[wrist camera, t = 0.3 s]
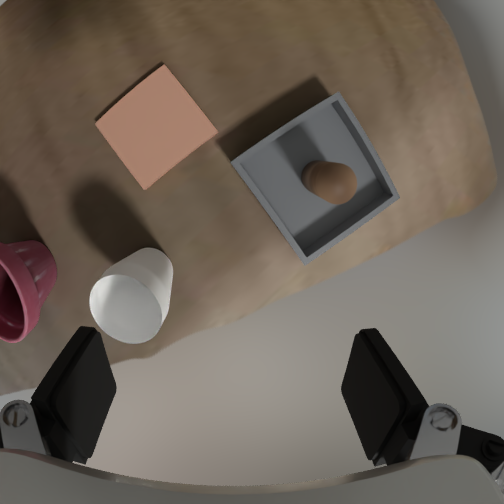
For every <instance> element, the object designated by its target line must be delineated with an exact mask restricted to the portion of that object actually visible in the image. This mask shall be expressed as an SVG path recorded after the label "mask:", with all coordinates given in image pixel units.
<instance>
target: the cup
mask: <svg viewBox="0 0 504 504" xmlns="http://www.w3.org/2000/svg"><path fill="white" fill-rule="evenodd" d="M172 277H173V267H172V264H171V261H170V260H169V258H168V257H167V256H166V255H165V254H164V253H163V252H161V251H160V250H158V249H155V248H143V249H140V250H138V251H136V252H135V253H133V254H131V255H129V256H128V257H126V258H124V259H122V260H121V261H119V262H117V263H116V264H114V265H112V266H111V267H109V268H108V269H107V270H106V271H105V272H104V273H103V274H102V276H101V277H100V279H99V280H98V281H97V283H96V284H95V285H94V287H93V288H92V291H91V294H90V309H91V313H92V315H93V317H94V319H95V321H96V323H97V324H98V325H99V327H100V328H101V329H102V330H103V331H104V332H105V333H107V334H108V335H109V336H111V337H113V338H114V339H116V340H119V341H121V342H125V343H131V344H138V343H143V342H146V341H148V340H150V339H152V338H153V337H154V336H155V335H156V334H157V333H158V331H159V329H160V327H161V325H162V323H163V321H164V319H165V318H166V316H167V313H168V309H169V303H170V294H171V286H172Z"/></svg>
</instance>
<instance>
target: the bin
mask: <svg viewBox="0 0 504 504" xmlns="http://www.w3.org/2000/svg"><path fill="white" fill-rule="evenodd" d="M315 160H320V161H328V162H335V163H342V164H345V165H347V166H349V167H350V168H351V169H352V170H353V172H354V173H355V175H356V178H357V189H356V192H355V194H354V196H353V197H352V198H351V199H350V200H349V201H348V202H346V203H343V204H332V203H329V202H327V201H326V200H324V199H322V198H320V197H319V196H317V195H315V194H313V193H311V192H310V191H308V190H307V189H306V188H305V187H304V185H303V183H302V180H301V174H302V171H303V169H304V167H305V166H306V165H307V164H308V163H309V162H311V161H315ZM230 163H231V164H232V165H233V167H234V168H235V169H236V171H237V172H238V173H239V175H240V176H241V177H242V179H243V180H244V181H245V183H246V184H247V185H248V187H249V188H250V190H251V191H252V192H253V194H254V195H255V196H256V198H257V199H258V201H259V202H260V203H261V205H262V206H263V207H264V209H265V210H266V212H267V213H268V214H269V216H270V217H271V219H272V220H273V221H274V223H275V224H276V225H277V227H278V228H279V230H280V231H281V233H282V234H283V235H284V237H285V238H286V240H287V241H288V242H289V244H290V245H291V247H292V248H293V250H294V251H295V252H296V254H297V255H298V257H299V258H300V260H301V261H302V262H303V264H304V265H307V264H308V263H310V262H311V261H313V260H314V259H315V258H317V257H318V256H320V255H321V254H323V253H324V252H326V251H327V250H328V249H330V248H331V247H333V246H334V245H336V244H337V243H338V242H340V241H341V240H343V239H344V238H345V237H347V236H348V235H350V234H351V233H352V232H354V231H355V230H357V229H358V228H359V227H361V226H362V225H364V224H365V223H366V222H368V221H369V220H370V219H372V218H373V217H375V216H376V215H377V214H379V213H380V212H381V211H383V210H384V209H385V208H387V207H388V206H389V205H391V204H392V203H394V202H395V201H396V200H398V199H399V198H400V196H399V194H398V192H397V190H396V188H395V186H394V184H393V182H392V180H391V178H390V176H389V174H388V173H387V171H386V169H385V167H384V165H383V163H382V161H381V160H380V158H379V156H378V154H377V152H376V151H375V149H374V147H373V145H372V144H371V142H370V140H369V138H368V137H367V135H366V133H365V132H364V130H363V128H362V127H361V125H360V123H359V122H358V120H357V119H356V117H355V116H354V114H353V112H352V111H351V109H350V108H349V106H348V105H347V103H346V102H345V100H344V99H343V97H342V96H341V94H340V93H339V92H337V93H335V94H333V95H331V96H330V97H328V98H326V99H325V100H323V101H321V102H320V103H318V104H316V105H315V106H313V107H311V108H310V109H308V110H307V111H305V112H303V113H302V114H300V115H299V116H297V117H296V118H294V119H292V120H291V121H289V122H288V123H286V124H285V125H283V126H282V127H280V128H279V129H277V130H276V131H274V132H273V133H271V134H270V135H268V136H267V137H265V138H264V139H262V140H261V141H259V142H258V143H256V144H255V145H253V146H252V147H251V148H249V149H248V150H246V151H245V152H243V153H242V154H241V155H239V156H238V157H236V158H235V159H234V160H232V161H231V162H230Z"/></svg>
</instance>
